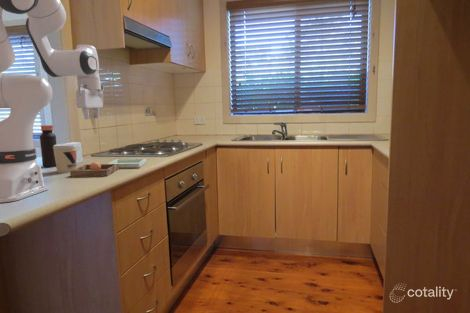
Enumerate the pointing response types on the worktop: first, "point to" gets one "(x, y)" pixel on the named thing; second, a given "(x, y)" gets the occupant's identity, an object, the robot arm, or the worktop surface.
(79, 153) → the small box
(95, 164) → the ball
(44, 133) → the bottle
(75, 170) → the brown wooden tray
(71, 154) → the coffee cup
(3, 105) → the robot arm
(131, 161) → the tray
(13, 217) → the worktop surface
